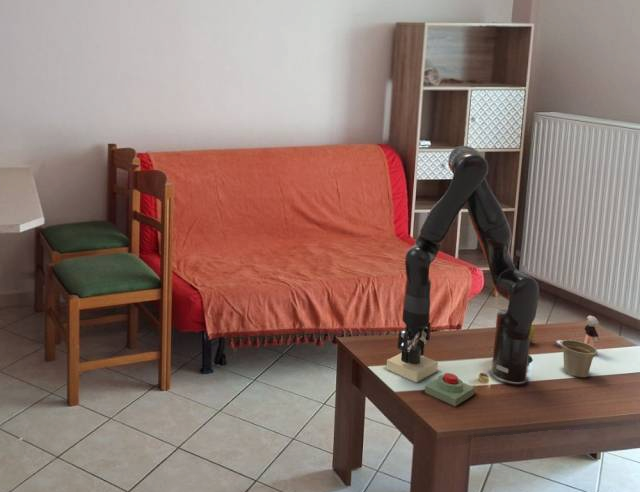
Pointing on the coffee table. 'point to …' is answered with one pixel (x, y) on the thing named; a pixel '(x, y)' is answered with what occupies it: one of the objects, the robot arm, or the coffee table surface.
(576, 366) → the flower pot
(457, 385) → the switch box
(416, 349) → the hob knob
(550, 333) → the coffee table surface
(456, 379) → the button
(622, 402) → the coffee table surface
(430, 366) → the panel
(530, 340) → the lemon
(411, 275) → the robot arm
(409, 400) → the coffee table surface
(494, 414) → the coffee table surface
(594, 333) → the grandmother figurine
